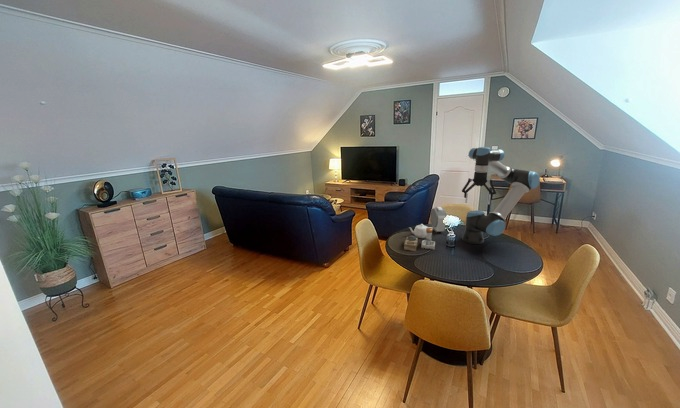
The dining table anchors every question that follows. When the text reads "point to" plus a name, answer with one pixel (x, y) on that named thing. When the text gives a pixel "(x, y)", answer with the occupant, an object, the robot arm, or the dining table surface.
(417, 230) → the teapot
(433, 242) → the tray
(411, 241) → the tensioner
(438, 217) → the grey piece
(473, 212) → the robot arm
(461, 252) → the dining table surface
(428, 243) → the pin
